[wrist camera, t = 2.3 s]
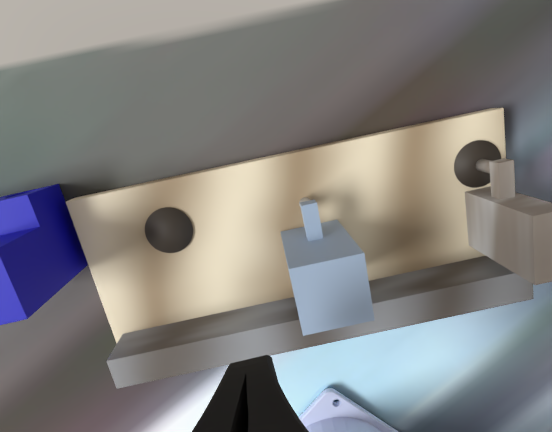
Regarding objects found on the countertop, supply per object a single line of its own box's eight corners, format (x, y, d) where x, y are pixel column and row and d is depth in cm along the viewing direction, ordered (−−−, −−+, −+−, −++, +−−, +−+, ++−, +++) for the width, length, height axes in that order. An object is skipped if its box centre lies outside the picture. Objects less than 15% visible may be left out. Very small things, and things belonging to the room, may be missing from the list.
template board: (491, 108, 20) (589, 105, 14) (501, 282, 22) (587, 340, 17) (74, 197, 20) (0, 231, 14) (132, 361, 22) (90, 448, 16)
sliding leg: (331, 187, 19) (357, 211, 14) (346, 272, 20) (374, 320, 16) (273, 200, 19) (280, 228, 14) (291, 283, 20) (303, 335, 16)
